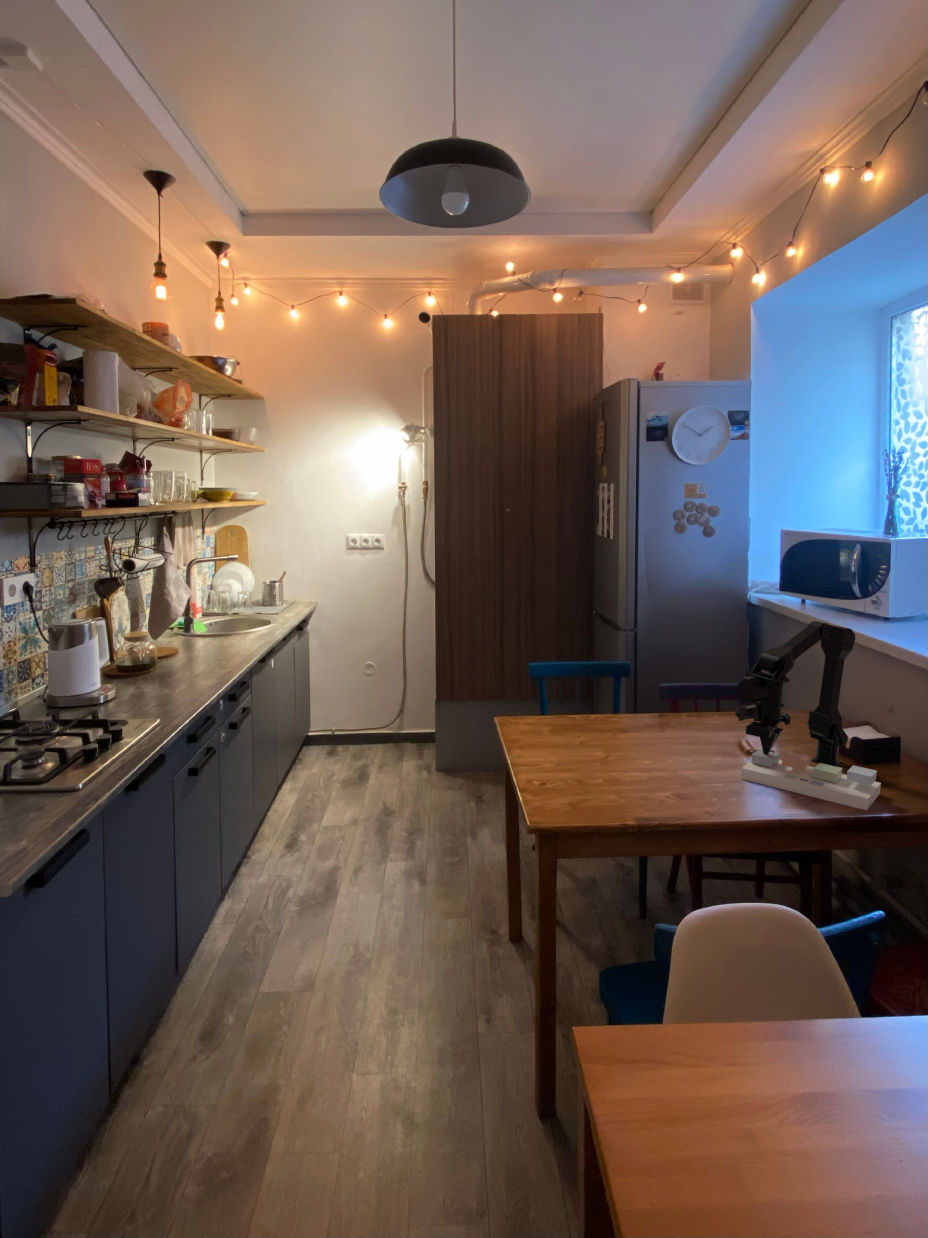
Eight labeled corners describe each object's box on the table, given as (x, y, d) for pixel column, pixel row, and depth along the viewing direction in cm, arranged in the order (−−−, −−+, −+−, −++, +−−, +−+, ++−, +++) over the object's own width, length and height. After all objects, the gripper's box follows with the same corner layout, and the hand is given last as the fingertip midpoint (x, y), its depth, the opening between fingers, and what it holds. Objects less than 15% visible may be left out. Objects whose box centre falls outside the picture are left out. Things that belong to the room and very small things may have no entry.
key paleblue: (852, 774, 201) (853, 765, 200) (875, 779, 197) (876, 770, 197) (846, 780, 196) (847, 771, 196) (870, 786, 193) (871, 776, 192)
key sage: (818, 771, 206) (819, 763, 205) (841, 776, 202) (842, 768, 202) (812, 777, 202) (813, 768, 201) (835, 782, 198) (836, 773, 198)
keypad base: (758, 765, 219) (759, 754, 219) (879, 794, 200) (881, 782, 199) (740, 778, 209) (741, 767, 208) (866, 810, 189) (868, 798, 189)
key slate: (758, 757, 216) (758, 749, 215) (778, 762, 212) (779, 753, 212) (751, 762, 212) (751, 754, 211) (772, 767, 208) (772, 759, 208)
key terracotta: (788, 759, 211) (789, 751, 210) (809, 764, 207) (810, 756, 207) (781, 765, 206) (782, 756, 206) (803, 770, 203) (804, 761, 202)
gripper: (753, 687, 221) (748, 739, 224) (728, 700, 207) (723, 755, 209) (793, 694, 214) (788, 748, 217) (770, 708, 200) (765, 765, 203)
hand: (765, 754), depth 212 cm, fingers closed, pressing on key slate
